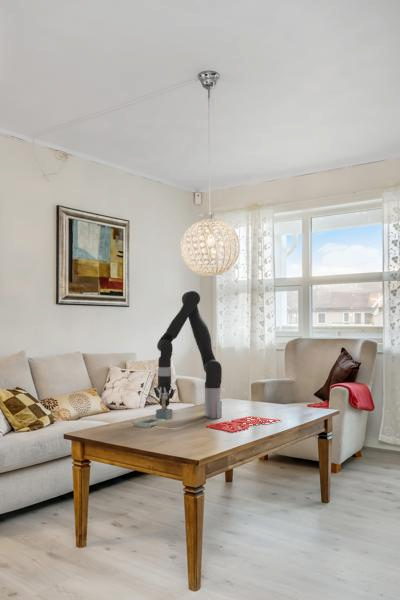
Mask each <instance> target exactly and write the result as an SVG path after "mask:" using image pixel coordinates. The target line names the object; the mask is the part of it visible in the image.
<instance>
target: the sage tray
mask: <svg viewBox="0 0 400 600" xmlns="http://www.w3.org/2000/svg"><path fill="white" fill-rule="evenodd" d="M148 421H153V422H149V423H147V422H148ZM163 422H166V420H165V419H158V418H156V417H147V418H144V419H141V420H137V421H134V422H133V427H139V428H146V429H147V428H148V429H151V428H153V427H156V426H157V424H158V425H159V424H161V423H163Z"/></svg>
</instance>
